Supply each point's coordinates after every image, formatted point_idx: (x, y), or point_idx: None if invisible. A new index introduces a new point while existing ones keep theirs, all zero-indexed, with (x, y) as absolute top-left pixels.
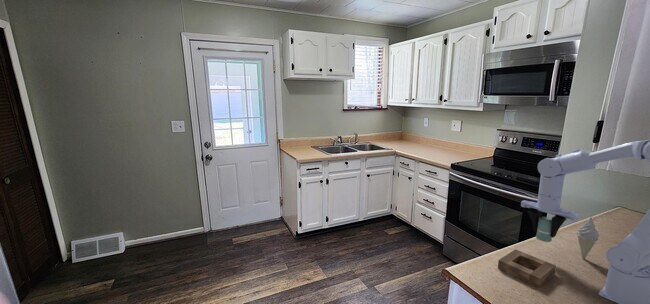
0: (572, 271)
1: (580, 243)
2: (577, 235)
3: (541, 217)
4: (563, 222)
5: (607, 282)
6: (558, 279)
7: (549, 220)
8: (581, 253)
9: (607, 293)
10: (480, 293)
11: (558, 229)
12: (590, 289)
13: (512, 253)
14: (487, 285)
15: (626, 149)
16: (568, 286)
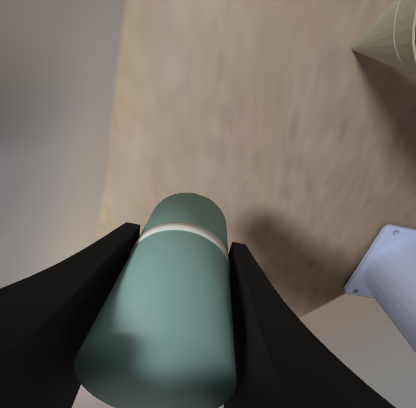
0: (295, 208)
1: (390, 57)
2: (412, 45)
3: (95, 366)
4: (332, 362)
5: (385, 306)
6: None
7: (189, 393)
8: (360, 49)
9: (366, 286)
10: None
11: (267, 280)
12: (329, 273)
13: None
14: None
15: None
16: (279, 291)
